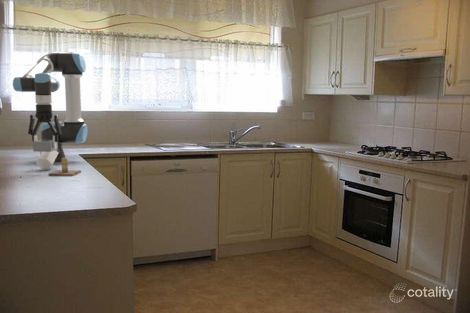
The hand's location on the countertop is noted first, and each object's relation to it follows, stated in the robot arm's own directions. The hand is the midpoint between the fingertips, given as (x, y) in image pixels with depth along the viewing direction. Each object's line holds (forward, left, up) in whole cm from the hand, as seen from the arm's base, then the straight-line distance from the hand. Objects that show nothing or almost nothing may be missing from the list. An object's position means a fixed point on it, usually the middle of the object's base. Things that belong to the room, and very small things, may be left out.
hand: (45, 148), depth 255 cm
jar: (-5, -3, -9) cm, 11 cm away
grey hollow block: (0, 0, -1) cm, 1 cm away
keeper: (+6, +12, -12) cm, 18 cm away
